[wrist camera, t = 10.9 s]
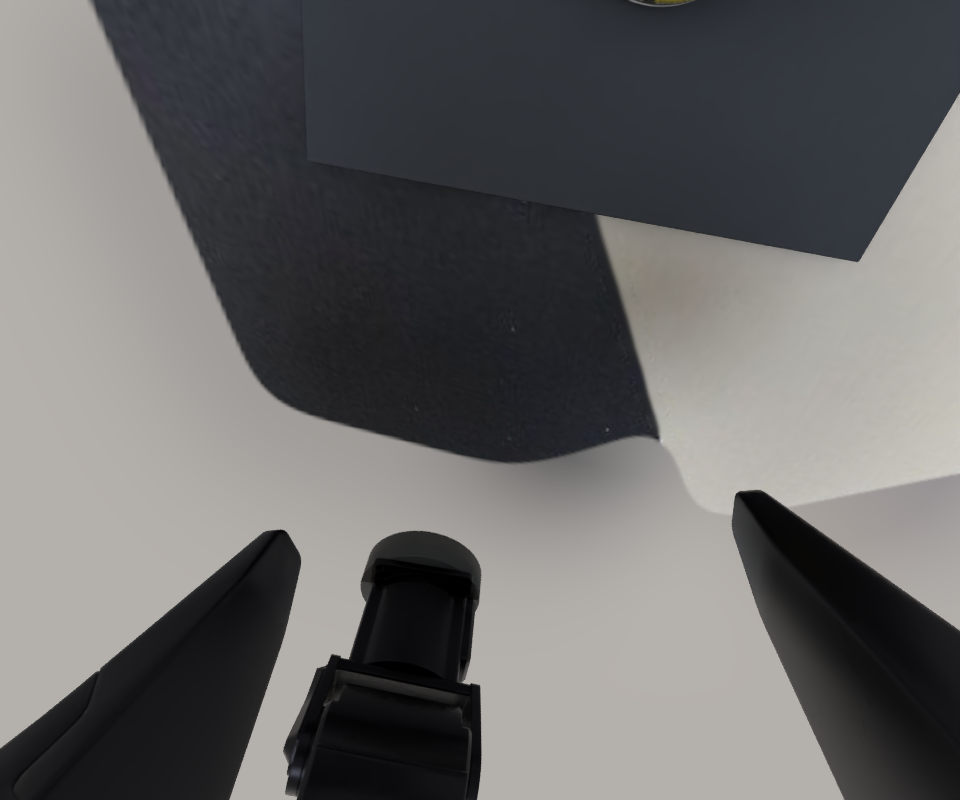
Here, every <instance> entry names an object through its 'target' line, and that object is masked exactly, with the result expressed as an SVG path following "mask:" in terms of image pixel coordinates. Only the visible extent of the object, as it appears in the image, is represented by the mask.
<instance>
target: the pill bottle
mask: <svg viewBox="0 0 960 800" xmlns="http://www.w3.org/2000/svg"><path fill="white" fill-rule="evenodd" d="M629 1H631V2H634V3H638V4H641V5H647V6H656V7H666V6H675V5H681V4H685V3H688V2H692V1H695V0H629Z"/></svg>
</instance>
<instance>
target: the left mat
mask: <svg viewBox="0 0 960 800" xmlns="http://www.w3.org/2000/svg"><path fill="white" fill-rule="evenodd" d="M301 7H302V34H303V61H304V87H305V114H306V141H307V160H308V161H309V162H315V163H320V164H326V165H331V166H337V167H342V168H348V169H353V170H358V171H364V172H369V173H375V174H380V175H386V176H391V177H397V178H402V179H408V180H413V181H418V182H424V183H429V184H435V185H440V186H446V187H451V188H457V189H462V190H467V191H473V192H478V193H484V194H489V195H495V196H500V197H506V198H511V199H517V200H522V201H527V202H533V203H538V204H544V205H549V206H555V207H560V208H566V209H571V210H577V211H582V212H587V213H593V214H598V215H604V216H609V217H615V218H620V219H626V220H631V221H636V222H642V223H647V224H653V225H658V226H664V227H669V228H675V229H680V230H686V231H691V232H696V233H702V234H707V235H713V236H718V237H724V238H729V239H735V240H740V241H745V242H751V243H756V244H762V245H767V246H773V247H778V248H784V249H789V250H795V251H800V252H805V253H811V254H816V255H822V256H827V257H833V258H838V259H844V260H849V261H855V262H858V261H859V260H860V259H861V257H862V255H863V254H864V252H865V250H866V249H867V247H868V245H869V244H870V242H871V240H872V239H873V237H874V235H875V234H876V232H877V230H878V229H879V227H880V225H881V224H882V222H883V220H884V219H885V217H886V215H887V214H888V212H889V210H890V208H891V207H892V205H893V203H894V202H895V200H896V198H897V197H898V195H899V193H900V192H901V190H902V188H903V187H904V185H905V183H906V182H907V180H908V178H909V177H910V175H911V173H912V172H913V170H914V168H915V167H916V165H917V163H918V162H919V160H920V158H921V157H922V155H923V153H924V152H925V150H926V148H927V147H928V145H929V143H930V142H931V140H932V138H933V137H934V135H935V133H936V132H937V130H938V128H939V127H940V125H941V123H942V121H943V120H944V118H945V116H946V115H947V113H948V111H949V110H950V108H951V106H952V105H953V103H954V101H955V100H956V98H957V96H958V95H959V93H960V0H695V1H692V2H688V3H685V4H681V5H675V6H666V7H656V6H647V5H641V4H638V3H634V2H631V1H629V0H301Z"/></svg>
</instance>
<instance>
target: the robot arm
mask: <svg viewBox="0 0 960 800" xmlns="http://www.w3.org/2000/svg"><path fill="white" fill-rule="evenodd" d="M732 530H733V535H734V538H735V541H736V544H737V547H738V550H739V553H740V556H741V559H742V562H743V565H744V568H745V571H746V574H747V578H748V581H749V584H750V587H751V589H752V593H753V596H754V599H755V602H756V605H757V608H758V610H759V613H760V616H761V618H762V620H763V623H764V625H765V628H766V630H767V632H768V634H769V636H770V639H771V641H772V643H773V645H774V647H775V649H776V651H777V654H778V656H779V658H780V660H781V663H782V665H783V667H784V669H785V671H786V673H787V676H788V678H789V680H790V682H791V684H792V686H793V689H794V691H795V693H796V695H797V697H798V699H799V702H800V704H801V706H802V708H803V710H804V713H805V715H806V717H807V719H808V721H809V724H810V726H811V728H812V730H813V732H814V734H815V736H816V739H817V741H818V743H819V745H820V747H821V749H822V752H823V754H824V756H825V758H826V760H827V763H828V765H829V767H830V769H831V771H832V774H833V776H834V778H835V780H836V782H837V784H838V787H839V789H840V791H841V793H842V795H843V797H844V800H960V631H959V630H958V629H956V628H955V627H954V626H952V625H951V624H950V623H948V622H947V621H945V620H944V619H943V618H941V617H940V616H938V615H937V614H936V613H934V612H933V611H931V610H930V609H929V608H927V607H925V606H924V605H923V604H922V603H920V602H919V601H917V600H916V599H914V598H913V597H912V596H910V595H909V594H907V593H906V592H905V591H903V590H902V589H900V588H899V587H898V586H896V585H895V584H893V583H892V582H891V581H889V580H888V579H886V578H885V577H883V576H882V575H881V574H879V573H878V572H877V571H875V570H874V569H872V568H871V567H869V566H868V565H866V564H865V563H864V562H862V561H861V560H860V559H858V558H857V557H855V556H854V555H853V554H851V553H849V552H848V551H847V550H845V549H844V548H843V547H841V546H839V544H837V543H836V542H834V541H833V540H832V539H830V538H829V537H827V536H826V535H824V534H823V533H822V532H820V531H819V530H817V529H816V528H815V527H813V526H811V525H810V524H809V523H807V522H806V521H805V520H803V519H802V518H801V517H799V516H797V515H796V514H795V513H794V512H792V511H790V510H789V509H788V508H787V507H785V506H784V505H782V504H781V503H779V502H778V501H777V500H775V499H774V498H772V497H771V496H770V495H768V494H767V493H765V492H764V491H761V490H749V491H740V492H738V493H736V495H735V500H734V509H733V518H732ZM300 566H301V557H300V554H299V552H298V550H297V548H296V547H295V545H294V543H293V542H292V540H291V538H290V537H289V535H288V533H287V532H286V531H284V530H271V531H266V532H263V533H262V534H261V535H260V536H258V537H257V538H256V539H255V540H254V541H252V542H251V543H250V544H249V545H248V546H247V547H245V548H244V549H243V550H242V551H241V552H239V553H238V554H237V555H236V556H235V557H233V558H232V559H231V560H230V561H229V562H227V563H226V564H225V565H224V566H223V567H221V568H220V569H219V570H218V571H216V573H214V574H213V575H212V576H210V577H209V578H208V579H207V580H206V581H205V582H203V583H202V584H201V585H200V586H199V587H197V588H196V589H195V590H194V591H193V592H191V593H190V594H189V595H188V596H187V597H185V598H184V599H183V600H182V601H181V602H179V603H178V604H177V605H176V606H175V607H173V608H172V609H171V610H170V611H169V612H167V613H166V614H165V615H164V616H163V617H161V618H160V619H159V620H158V621H157V622H155V623H154V624H153V625H152V626H151V627H149V628H148V629H147V630H146V631H145V632H143V633H142V634H141V635H140V636H139V637H137V638H136V639H135V640H134V641H133V642H132V643H130V644H129V645H128V646H127V647H125V648H124V649H123V650H122V651H121V652H119V653H118V654H117V655H116V656H115V657H113V658H112V659H111V660H110V661H109V662H108V663H106V664H105V665H104V666H103V667H102V668H101V669H100V671H97V672H95V673H94V674H93V675H92V676H91V677H89V678H88V679H87V680H86V681H85V682H83V683H82V684H81V685H80V686H79V687H77V688H76V689H75V690H74V691H73V692H71V693H70V694H69V695H68V696H66V697H65V698H64V699H63V700H62V701H60V702H59V703H58V704H57V705H55V706H54V707H53V708H52V709H50V710H49V711H48V712H47V713H46V714H44V715H43V716H42V717H41V718H40V719H38V720H37V721H35V722H34V723H33V724H31V725H30V726H29V727H28V728H26V729H25V730H24V731H22V732H21V733H20V734H19V735H17V736H16V737H15V738H13V739H12V740H11V741H9V742H8V743H7V744H6V745H4V746H3V747H2V748H0V800H229V799H230V796H231V793H232V790H233V787H234V784H235V781H236V778H237V775H238V772H239V769H240V766H241V763H242V760H243V757H244V754H245V751H246V748H247V746H248V743H249V739H250V737H251V734H252V731H253V728H254V725H255V722H256V719H257V716H258V713H259V710H260V707H261V704H262V701H263V698H264V695H265V692H266V689H267V686H268V683H269V680H270V677H271V674H272V671H273V668H274V665H275V663H276V660H277V657H278V653H279V651H280V648H281V644H282V641H283V638H284V635H285V631H286V626H287V623H288V619H289V615H290V610H291V606H292V602H293V597H294V593H295V589H296V584H297V580H298V576H299V571H300ZM472 583H473V576H472V574H470V573H469V572H464V571H458V570H452V569H446V568H440V567H434V566H428V565H422V564H416V563H410V562H404V561H398V560H392V559H386V558H376V559H374V561H373V564H372V571H371V588H370V592H369V595H368V598H367V601H366V605H365V608H364V611H363V615H362V618H361V621H360V625H359V628H358V631H357V634H356V638H355V641H354V644H353V647H352V651H351V654H350V657H349V659H344V658H341V656H338V655H334V654H332V655H331V657H330V660H329V662H328V665H326V666H324V667H321V668H317V670H316V673H315V676H314V678H313V681H312V684H311V687H310V689H309V692H308V695H307V697H306V700H305V702H304V704H303V706H302V708H301V711H300V713H299V715H298V717H297V719H296V721H295V723H294V725H293V727H292V729H291V731H290V733H289V736H288V738H287V740H286V743H285V746H284V750H283V752H284V755H285V757H286V759H287V761H288V764H289V766H288V770H287V775H289V777H288V781H287V786H286V791H285V794H286V795H290V796H296V797H297V800H477V795H478V789H479V782H480V772H481V705H480V704H481V703H480V685H477V684H472V683H471V684H470V685H468V684H464V683H462V682H463V681H464V680H465V678H466V674H467V670H468V667H469V663H470V659H471V648H472V637H473V626H474V616H475V605H476V602H475V601H474V599H473V598H469V596H470V591H471V587H472Z"/></svg>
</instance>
